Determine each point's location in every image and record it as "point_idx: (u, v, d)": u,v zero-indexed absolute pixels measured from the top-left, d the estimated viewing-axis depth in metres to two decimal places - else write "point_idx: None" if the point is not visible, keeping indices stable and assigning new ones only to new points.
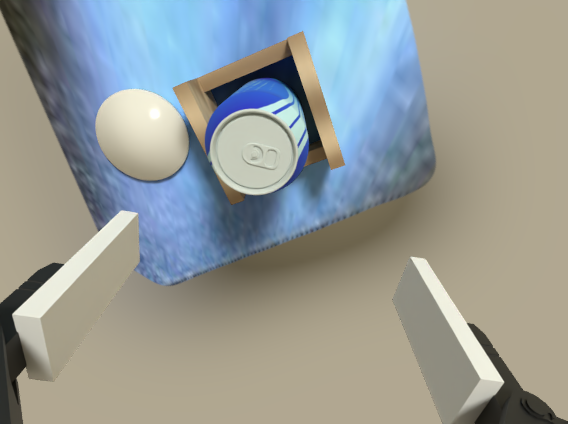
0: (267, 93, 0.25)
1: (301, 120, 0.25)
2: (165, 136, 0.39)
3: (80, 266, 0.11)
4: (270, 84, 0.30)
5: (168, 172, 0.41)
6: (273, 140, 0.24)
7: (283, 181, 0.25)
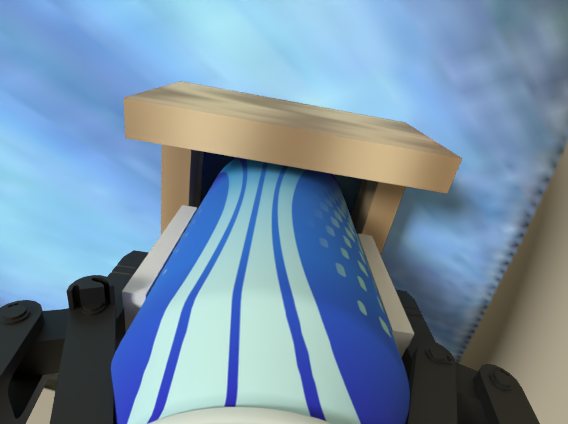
0: (132, 332, 0.08)
1: (252, 298, 0.07)
2: None
3: (163, 252, 0.13)
4: (194, 219, 0.13)
5: None
6: None
7: None
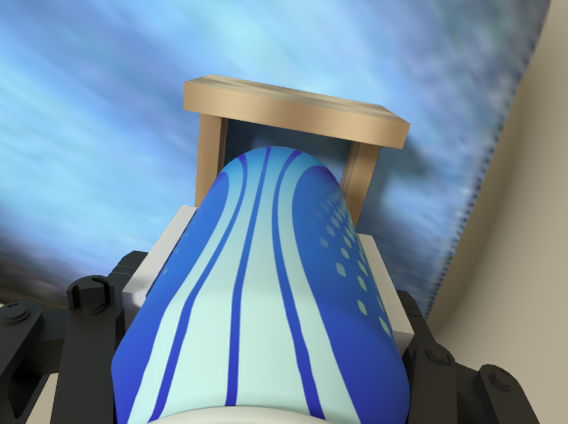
0: (132, 332, 0.08)
1: (252, 298, 0.07)
2: None
3: (163, 252, 0.13)
4: (194, 219, 0.13)
5: None
6: None
7: None
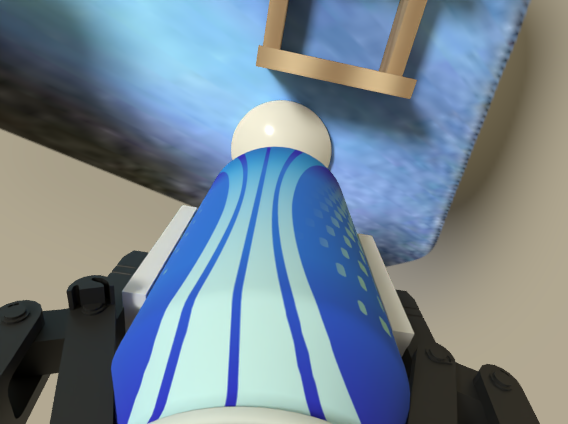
0: (132, 332, 0.08)
1: (252, 298, 0.07)
2: (293, 130, 0.35)
3: (163, 252, 0.13)
4: (194, 219, 0.13)
5: (326, 155, 0.36)
6: None
7: None
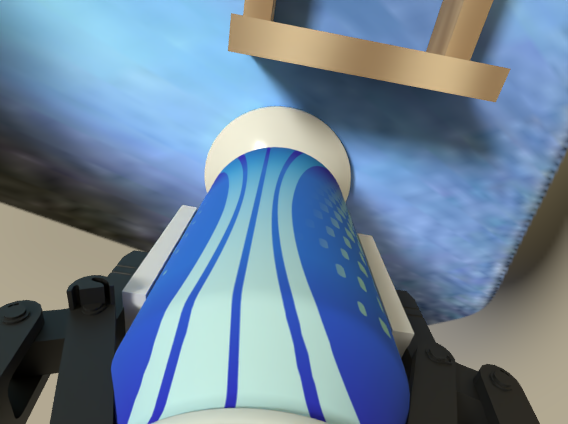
0: (132, 333, 0.08)
1: (252, 299, 0.07)
2: None
3: (163, 252, 0.13)
4: (194, 219, 0.13)
5: (344, 184, 0.25)
6: None
7: None
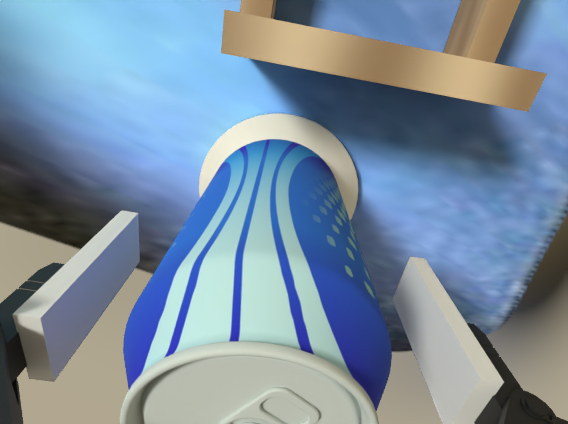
0: (147, 290, 0.09)
1: (252, 258, 0.08)
2: None
3: (80, 266, 0.11)
4: (199, 202, 0.15)
5: (350, 198, 0.23)
6: (242, 385, 0.08)
7: (368, 420, 0.08)
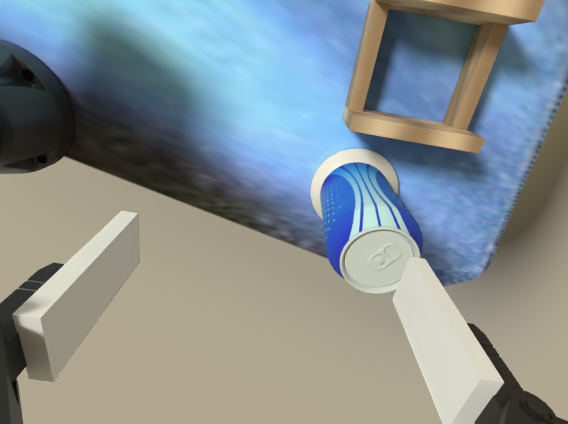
0: (342, 218, 0.28)
1: (380, 206, 0.27)
2: None
3: (80, 266, 0.11)
4: (335, 192, 0.34)
5: None
6: (380, 242, 0.27)
7: (417, 254, 0.27)
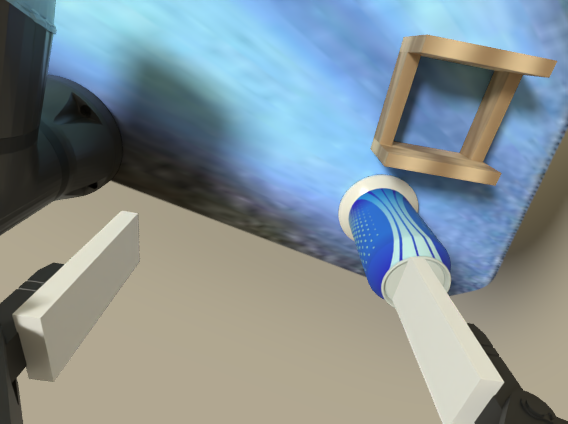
0: (383, 247, 0.32)
1: (416, 237, 0.32)
2: None
3: (80, 266, 0.11)
4: (369, 219, 0.38)
5: None
6: None
7: (448, 279, 0.31)
